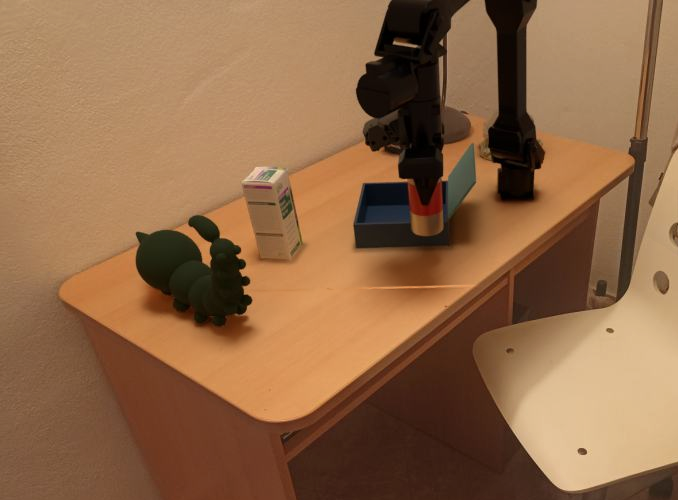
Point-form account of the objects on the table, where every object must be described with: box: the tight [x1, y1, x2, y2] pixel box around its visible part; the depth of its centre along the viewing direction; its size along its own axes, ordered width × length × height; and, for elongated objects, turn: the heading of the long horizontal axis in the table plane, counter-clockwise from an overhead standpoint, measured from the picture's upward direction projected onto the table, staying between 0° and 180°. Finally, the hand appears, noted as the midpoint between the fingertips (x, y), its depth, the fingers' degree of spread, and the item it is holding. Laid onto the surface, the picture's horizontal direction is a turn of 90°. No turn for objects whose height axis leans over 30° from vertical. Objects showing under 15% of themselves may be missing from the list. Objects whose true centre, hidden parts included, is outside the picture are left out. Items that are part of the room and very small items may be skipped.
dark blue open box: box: [352, 180, 450, 249], centre depth 121 cm, size 16×16×5 cm
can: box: [406, 177, 443, 236], centre depth 105 cm, size 5×5×11 cm
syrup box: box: [240, 166, 304, 261], centre depth 112 cm, size 6×6×14 cm
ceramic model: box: [478, 108, 544, 162], centre depth 144 cm, size 14×11×10 cm
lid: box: [447, 142, 477, 220], centre depth 117 cm, size 8×16×1 cm
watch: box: [383, 140, 407, 156], centre depth 146 cm, size 6×8×11 cm
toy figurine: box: [135, 214, 253, 328], centre depth 99 cm, size 9×19×25 cm
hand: (425, 196), depth 105 cm, fingers closed on can, 5 cm apart
